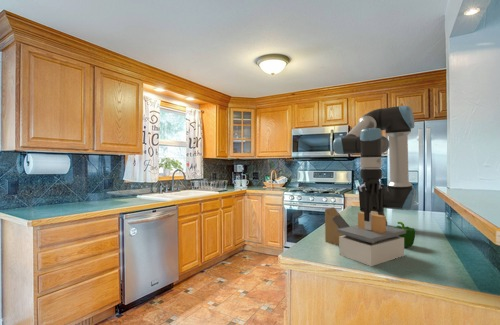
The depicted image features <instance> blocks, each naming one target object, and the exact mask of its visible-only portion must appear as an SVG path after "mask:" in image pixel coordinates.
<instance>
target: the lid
mask: <svg viewBox="0 0 500 325" xmlns="http://www.w3.org/2000/svg"><path fill="white" fill-rule="evenodd" d="M386 220H387V216H386V215H385V216H383V215H378V214H372V230H367V229H365V221H364V212H361V211H359V212H357V225H353V226H350V227H346V228H341V229H337V232H338V233H342V234H344V235H345V236H349V237H352V238H355V239H359V240H362V241H366V242H369V243H372V242H376V241H379V240H383V239H387V238H391V237H395V236H399V235H401V234H405V233H406V230H404V229H399V228H395V227H396V226H391V225H387V226H386Z"/></svg>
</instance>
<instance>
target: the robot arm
mask: <svg viewBox="0 0 500 325" xmlns="http://www.w3.org/2000/svg"><path fill="white" fill-rule="evenodd" d="M414 128H415V118H414V112H413V110H412V108H411V107H410V106H409V105H398V106H393V107H384V108H377V109H376V108H375V109H373V110H371V111H369V112H367V113H365V114H364V115H362V116H361V117H360V118H359V119H358V121H357V124H355V126H353V128H352V129H350V131H349V132H347V134H346V135H344V136H343V137H335V138H334V140H333V143H332V148H333V152H334V153H335V154H336V155H360V161H359V162H360V178H361V179H362V183H361V185H357V190H358V200H359V212H364V221H365V229H367V230H372V214H378V215H383V216H386V215H385V209H391V210H402V211H411V210H412V209H413V208H414V206H415V201H416V195H417V189H416V188H415V187H413V184H412V183H411V182H410V180H409V149H408V148H409V143H408V142H409V141H408V140H409V139H408V138H409V137H408V136H409V134H410V133H411V132H412V130H413V129H414ZM382 131H385V132H384V133H385V135H387V136H388V138H387V137H386V136H384V135H383V134H382ZM388 150H389V151H388ZM387 151H388V152H389V153H388V154H389V155H388V157H389V180H390V181H388V182H387V184H386V186H385V184H384V183H381V181H380V179H382V178H383V176H382V175H383V170H382V169H381V168H382V166H383V165H382V161H383V160H382V156H383V155H382V154H384V153H386V152H387ZM386 226H388V221H387V219H386Z"/></svg>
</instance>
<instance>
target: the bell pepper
mask: <svg viewBox="0 0 500 325" xmlns="http://www.w3.org/2000/svg"><path fill="white" fill-rule="evenodd" d="M397 224H398V225H397V226H394V227H395V228H399V229H404V230H406V233H405V234H401V235H399V236H400V237H404V248H410V247H412V246H413V245H414V242H415V239H416V230H415V228H414V227H410V226H405V224H404V223H403V222H401V221H397Z"/></svg>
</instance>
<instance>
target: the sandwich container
mask: <svg viewBox="0 0 500 325" xmlns="http://www.w3.org/2000/svg"><path fill="white" fill-rule="evenodd" d="M346 227H351V226H350V225H349V224H348V222H347V221H346V220H345V219H344V218H343V217H342V215H341V214H340V213H339V211H337V209H336V208H335V207H329V208H325V209H324V229H325V230H324V234H325V237H324V238H325V243H329V244H333V245H338V246H339V237H340V236H344V234H342V233H338V232H337V229H341V228H346Z"/></svg>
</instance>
